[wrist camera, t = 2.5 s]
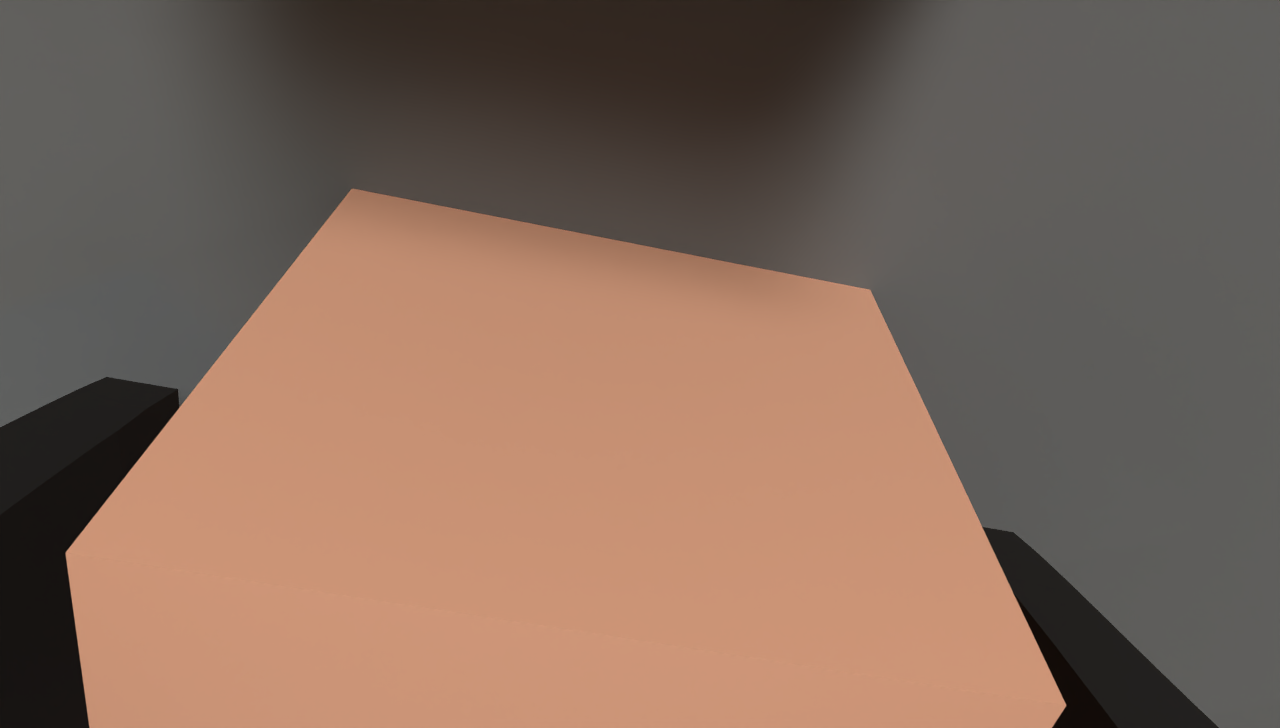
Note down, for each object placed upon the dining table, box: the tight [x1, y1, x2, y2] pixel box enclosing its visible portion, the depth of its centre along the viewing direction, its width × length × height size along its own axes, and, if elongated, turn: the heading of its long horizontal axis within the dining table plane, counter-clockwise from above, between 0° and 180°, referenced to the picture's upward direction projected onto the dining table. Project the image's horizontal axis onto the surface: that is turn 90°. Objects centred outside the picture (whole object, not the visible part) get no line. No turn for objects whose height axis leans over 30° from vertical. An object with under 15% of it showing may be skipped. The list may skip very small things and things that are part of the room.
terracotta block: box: [66, 189, 1066, 728], centre depth 8 cm, size 5×5×5 cm
